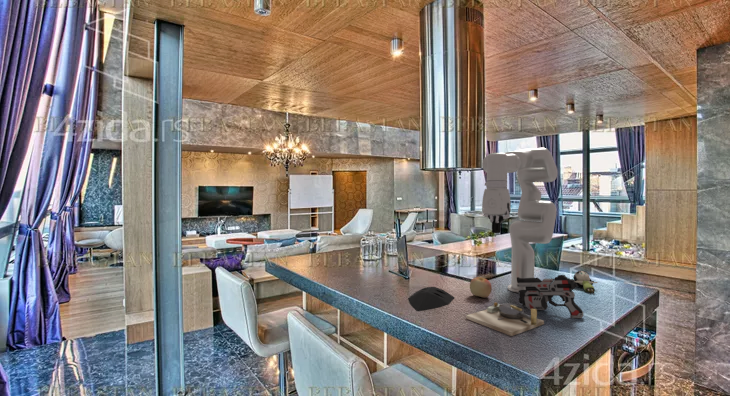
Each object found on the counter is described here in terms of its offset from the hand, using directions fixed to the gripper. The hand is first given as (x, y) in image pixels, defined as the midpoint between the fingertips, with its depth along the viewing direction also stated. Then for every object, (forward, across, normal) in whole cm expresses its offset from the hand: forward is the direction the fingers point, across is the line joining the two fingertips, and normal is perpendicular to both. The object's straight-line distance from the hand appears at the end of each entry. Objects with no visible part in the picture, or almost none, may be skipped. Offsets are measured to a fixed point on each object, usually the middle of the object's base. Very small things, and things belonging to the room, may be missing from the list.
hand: (496, 232), depth 137 cm
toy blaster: (+29, +14, +12) cm, 35 cm away
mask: (+30, -20, -16) cm, 40 cm away
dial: (+28, +14, -7) cm, 32 cm away
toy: (+29, +7, +56) cm, 63 cm away
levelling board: (+29, +11, -10) cm, 33 cm away
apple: (+29, -12, +6) cm, 32 cm away
